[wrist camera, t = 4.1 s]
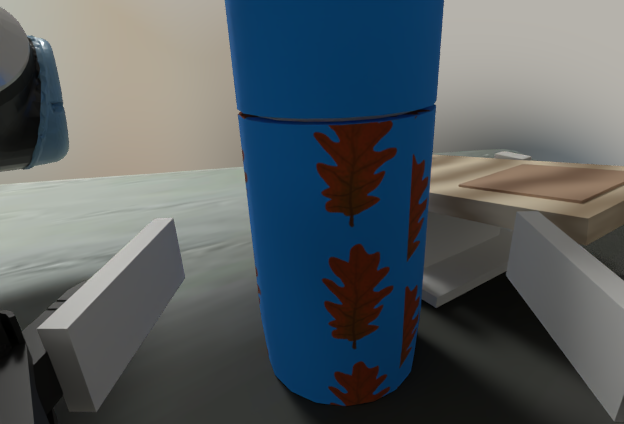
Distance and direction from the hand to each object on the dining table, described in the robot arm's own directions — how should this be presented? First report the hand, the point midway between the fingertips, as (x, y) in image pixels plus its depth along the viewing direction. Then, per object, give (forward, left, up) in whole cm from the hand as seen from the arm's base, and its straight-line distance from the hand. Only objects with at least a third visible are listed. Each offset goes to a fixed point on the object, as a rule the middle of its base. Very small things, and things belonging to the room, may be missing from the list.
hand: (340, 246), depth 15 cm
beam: (-11, +22, -5) cm, 25 cm away
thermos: (-7, +5, -13) cm, 16 cm away
